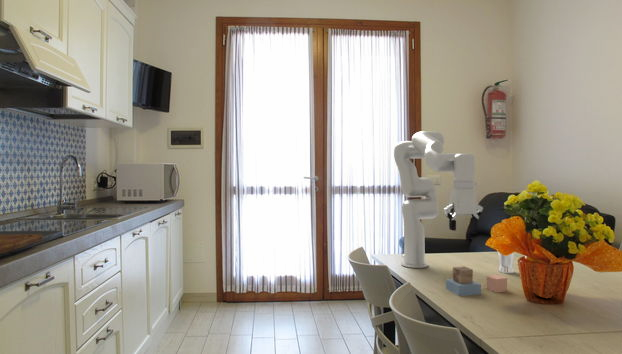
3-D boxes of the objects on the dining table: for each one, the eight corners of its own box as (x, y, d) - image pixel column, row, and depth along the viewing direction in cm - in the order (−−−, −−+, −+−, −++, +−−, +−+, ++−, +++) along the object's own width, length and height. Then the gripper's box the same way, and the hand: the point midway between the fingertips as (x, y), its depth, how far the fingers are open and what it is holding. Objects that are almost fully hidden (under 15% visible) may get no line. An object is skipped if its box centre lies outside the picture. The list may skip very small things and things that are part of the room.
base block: (446, 289, 154) (446, 279, 154) (467, 288, 156) (467, 278, 156) (458, 296, 146) (458, 285, 146) (481, 295, 147) (481, 284, 147)
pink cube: (486, 288, 154) (486, 275, 154) (496, 287, 155) (496, 274, 155) (496, 292, 149) (496, 279, 149) (507, 291, 151) (507, 278, 150)
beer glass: (498, 273, 177) (497, 239, 176) (497, 269, 183) (497, 236, 183) (515, 274, 174) (515, 239, 174) (514, 270, 181) (514, 237, 180)
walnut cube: (452, 280, 153) (452, 267, 152) (464, 279, 154) (464, 266, 154) (460, 283, 148) (460, 270, 148) (472, 282, 149) (472, 269, 149)
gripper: (475, 184, 161) (475, 226, 162) (438, 185, 156) (438, 228, 157) (489, 185, 154) (488, 229, 155) (450, 186, 149) (450, 232, 150)
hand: (463, 229), depth 156 cm, fingers open, 9 cm apart
